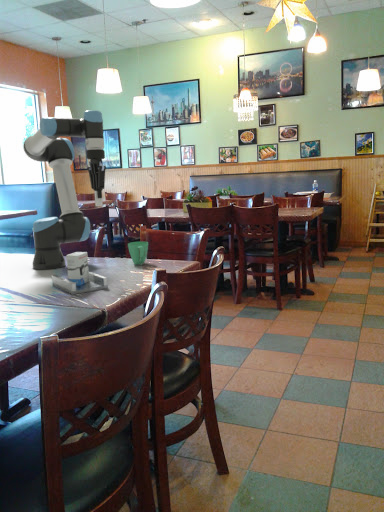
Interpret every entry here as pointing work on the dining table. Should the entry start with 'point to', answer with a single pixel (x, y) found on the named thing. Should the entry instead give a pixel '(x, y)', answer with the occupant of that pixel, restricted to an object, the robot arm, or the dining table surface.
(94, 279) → the whitish low flat box
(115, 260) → the dining table surface
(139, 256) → the mug
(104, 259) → the dining table surface
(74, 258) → the ink box
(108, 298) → the dining table surface
